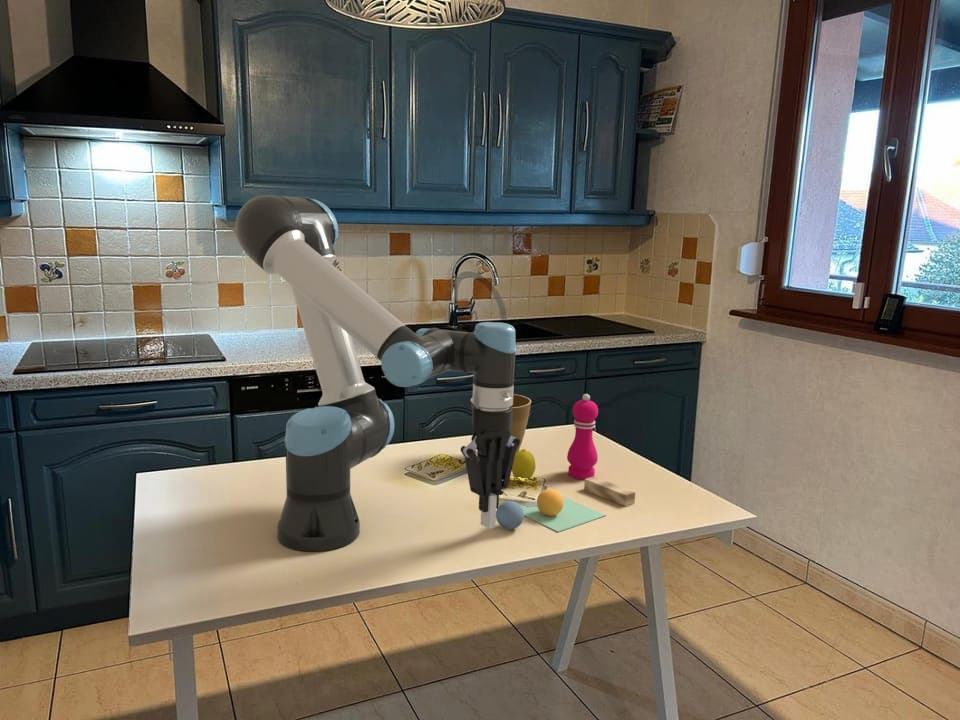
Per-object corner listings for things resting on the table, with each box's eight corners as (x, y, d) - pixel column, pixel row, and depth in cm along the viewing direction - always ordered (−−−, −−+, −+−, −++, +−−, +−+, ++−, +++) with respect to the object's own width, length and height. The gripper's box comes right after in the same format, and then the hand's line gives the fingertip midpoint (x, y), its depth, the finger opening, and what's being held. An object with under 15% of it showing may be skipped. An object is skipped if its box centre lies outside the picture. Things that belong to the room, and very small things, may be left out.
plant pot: (507, 449, 192) (510, 390, 188) (539, 466, 179) (543, 403, 176) (458, 456, 184) (459, 395, 181) (488, 475, 172) (490, 410, 168)
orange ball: (540, 481, 149) (556, 487, 153) (527, 504, 149) (543, 510, 153) (557, 493, 145) (573, 500, 149) (544, 517, 145) (560, 523, 149)
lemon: (532, 487, 165) (534, 453, 163) (508, 484, 166) (510, 451, 164) (535, 479, 170) (537, 446, 169) (512, 476, 171) (514, 444, 170)
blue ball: (512, 492, 145) (516, 515, 146) (488, 503, 142) (493, 526, 144) (526, 503, 140) (531, 527, 142) (502, 514, 138) (507, 538, 140)
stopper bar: (634, 503, 157) (635, 492, 157) (625, 506, 156) (626, 495, 155) (593, 486, 167) (593, 476, 166) (584, 489, 165) (584, 478, 164)
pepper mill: (570, 468, 179) (575, 389, 175) (599, 472, 176) (604, 392, 172) (562, 477, 172) (567, 395, 168) (592, 482, 169) (598, 399, 166)
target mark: (557, 532, 141) (558, 531, 141) (510, 509, 152) (510, 508, 152) (605, 516, 150) (605, 515, 150) (557, 494, 161) (557, 494, 161)
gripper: (478, 416, 127) (473, 541, 132) (532, 406, 136) (526, 524, 140) (452, 406, 133) (448, 527, 138) (505, 397, 141) (501, 511, 146)
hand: (488, 525), depth 139 cm, fingers closed
